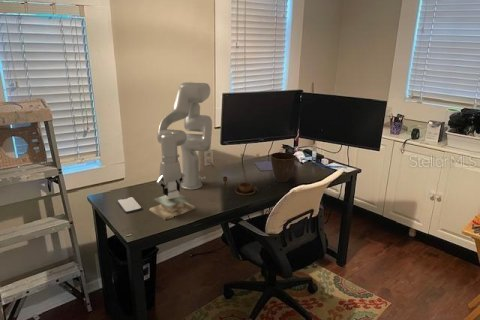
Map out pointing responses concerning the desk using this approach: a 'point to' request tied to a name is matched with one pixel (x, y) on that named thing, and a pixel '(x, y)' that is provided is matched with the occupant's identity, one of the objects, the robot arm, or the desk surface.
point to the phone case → (129, 205)
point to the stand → (171, 206)
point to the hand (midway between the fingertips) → (171, 192)
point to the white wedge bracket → (172, 190)
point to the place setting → (242, 187)
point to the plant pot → (282, 165)
